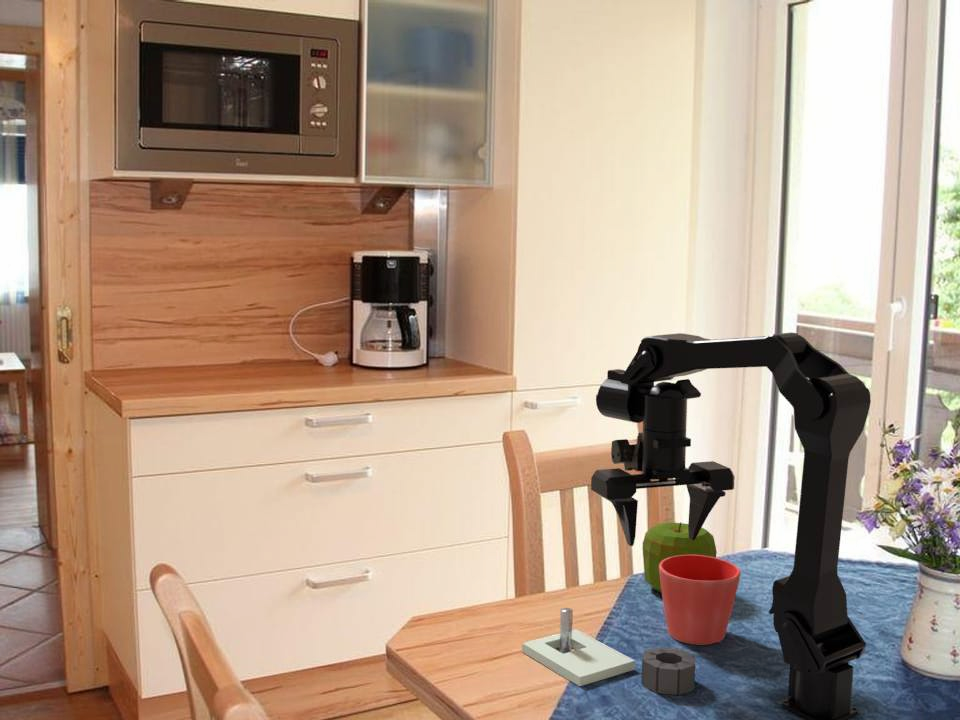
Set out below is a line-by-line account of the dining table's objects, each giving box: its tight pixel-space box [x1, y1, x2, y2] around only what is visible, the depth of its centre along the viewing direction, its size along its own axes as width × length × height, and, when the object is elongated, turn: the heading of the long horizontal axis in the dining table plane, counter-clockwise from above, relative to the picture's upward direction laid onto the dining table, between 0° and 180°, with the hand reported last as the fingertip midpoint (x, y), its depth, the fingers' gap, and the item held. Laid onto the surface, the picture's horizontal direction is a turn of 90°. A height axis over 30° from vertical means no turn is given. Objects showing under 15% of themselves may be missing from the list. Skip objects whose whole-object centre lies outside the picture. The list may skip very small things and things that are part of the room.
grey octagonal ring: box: [640, 646, 696, 696], centre depth 131 cm, size 6×6×3 cm
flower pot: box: [659, 555, 741, 646], centre depth 146 cm, size 11×11×10 cm
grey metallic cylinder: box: [558, 607, 574, 654], centre depth 139 cm, size 2×2×6 cm
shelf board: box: [521, 628, 636, 687], centre depth 138 cm, size 12×9×1 cm
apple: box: [641, 521, 718, 594], centre depth 163 cm, size 11×11×11 cm
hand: (661, 542), depth 143 cm, fingers open, 9 cm apart
